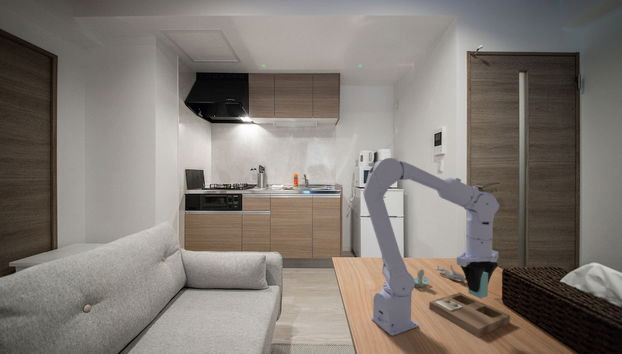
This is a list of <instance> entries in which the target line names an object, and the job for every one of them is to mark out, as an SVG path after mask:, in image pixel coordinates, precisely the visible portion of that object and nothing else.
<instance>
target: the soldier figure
mask: <svg viewBox="0 0 622 354" xmlns="http://www.w3.org/2000/svg"><path fill="white" fill-rule="evenodd" d="M449 267H450V271H452V272H450V271H449V270H448V269H447V268H444V267H443V268H442V267H441V268H439V265H437V266H436V269H435V270H436V271H439V274H440V275H446V276H447V277H448V278H449V279H450V280H453V281H456V280H459V281H461V283H462V282H465V281H466V277H465V275H464V274H462V273H460V272H457V271H455V270H454V268H453V265H452V264H450V263H449Z"/></svg>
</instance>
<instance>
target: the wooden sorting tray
mask: <svg viewBox="0 0 622 354" xmlns="http://www.w3.org/2000/svg"><path fill="white" fill-rule="evenodd" d="M428 305H429V310H431V311H433V312H434V313H436V314H438V315H440V316H441V317H443V318H444V319H446V320H447V321H450V322H452V323H454V324H456V326H458V327H460V328H462V329H463V330H465V331H467V332H469V333H470V334H472V335H474V336H476V337H477V338H480V337H482V336H485V335H486V334H488V333H491V332H492V331H495V330H497V329H499V328H502V327H504V326H507V325H509V324H510V323H511V315H510V314H508V313H505V312H503V311H501V310H498V309H497V308H494V307H493V306H490V305H488V304H485V303H484V302H481V301H479V300H478V299H477V300H476V299H475V298H472V297H470V296H468V295H465V294H464V293H461V292H457V293H454V294H451V295H450V294H449V295H448V296H447V295H446V296H444V297H441V298H438V299H435V300H431V301H429V303H428Z"/></svg>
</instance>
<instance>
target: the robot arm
mask: <svg viewBox="0 0 622 354" xmlns="http://www.w3.org/2000/svg"><path fill="white" fill-rule="evenodd" d="M399 180H400V181H406V180H410V181H413V182H415V183H417V184H420V185H422V186H425V187H427V188H431V189H432V190H435V191H437V194H438V196H439V197H440V198H441V199H444V200H446V201H448V202H451V203H452V204H455V205H457V206H459V207H462V208H463V209H464V210H465V211H466V212H465V213H466V219H465V251H464V252H463V253H462V254H460V255H458V256H456V265H458V266H460V268H461V270H462V272H463V275H464V277H466V280H465V282H466V284H467V289H468V291H469V290H472V291H474V292H478V291H479V288H480V281H481V277H482V274H483V272H487V273H488V284H489V283H490V279H491V277H492V275H493V273H494V272H495V271H496V269H497V268H498V266H499V265H498V263H497V261H498V259H499V251H497V250H493V237H494V236H493V234H494V233H493V230H494V229H493V228H494V220H495V214H496V213H497V212H498V211H499V208H500V203H498V200H497V198H496V197H495V195H494V194H492V193H491V192H489V191H488V192H487V191H480V190H479V187H478V186H476V185H472V186H471V185H469V184H466V183H465V182H464V183H463V182H461V181H462V179H460V178H459V177H453V178H452V177H449V178H445V179H442V178H440V177H438V176H436V175H434V174H432V173H429V172H427V171H425V170H423V169H422V168H419V167H418V166H415V165H413V164H411V163H409V162H405V161H402V160H397V159H396V158H393V157H387V158H384V159H380V160H377V161H376V162H374V163H373V165H372V166H371V168H370V169H369V170H368V173H367V178H366V182H365V185H364V188H363V192H362V193H363V194H362V195H363V199H364V202H365V205H366V208H367V211H368V214H369V218H370V220H371V224H372V227H373V231H374V234H375V237H376V240H377V243H378V247H379V251H380V253H381V259H382V274H383V276H384V277H385V280H384V283H383V284H382V288H381V290H380V291H379V292H377V293H375V294H374V297H373V316H371V320H372V321H373V322H374V323H375V324H377V325H378V326H379V327H380V328H382V329H383V330H384V331H385V332H386V333H387V334H388V335H390V336H395V335H398V334H401V333H404V332H407V331H409V330H412V329H415V328H417V327H419V325H420V324H419V323H418V322H416V321H414V320H413V319H412V293H413V291H414V288H415V287H416V286H415V282H414V279H415V278H414V276H413V275H412V274H411V273H410V272H409V271H408V269H407V265H406V264H405V261H404V259H403V256H402V254H401V252H400V249H399V245H398V242H397V239H396V236H395V232H394V229H393V226H392V222H391V219H390V216H389V212H388V210H387V207H386V203H385V200H384V199H385V198H384V196H385V195H386V193H387V191H388V190H389V188H390V187H392V185H394V184H395V183H397V182H398V181H399Z"/></svg>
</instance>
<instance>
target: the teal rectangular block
mask: <svg viewBox="0 0 622 354" xmlns="http://www.w3.org/2000/svg"><path fill="white" fill-rule="evenodd" d="M488 286H489V283H488V273H487V272H483V274H482V277H481V281H480V288H479V291H478V292H474V291H472V290H469V289H468V294H469V295H471V296H474V297H476V298H479V300H481V299H483V298H486V297H489V295H488V294H489V293H488V291H489V287H488Z"/></svg>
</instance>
